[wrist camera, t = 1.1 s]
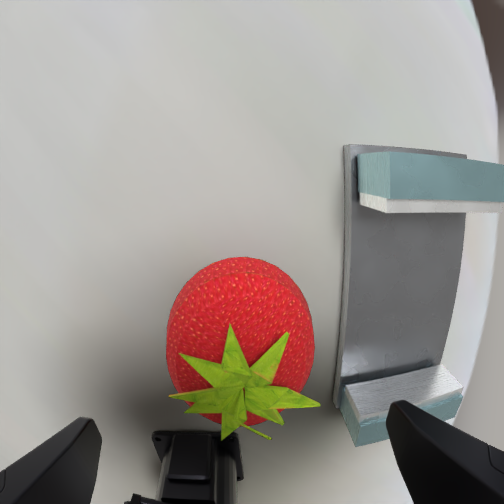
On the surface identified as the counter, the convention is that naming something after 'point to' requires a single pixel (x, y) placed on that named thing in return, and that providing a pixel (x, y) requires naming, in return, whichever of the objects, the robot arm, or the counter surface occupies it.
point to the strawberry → (240, 344)
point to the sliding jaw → (429, 183)
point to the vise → (395, 308)
